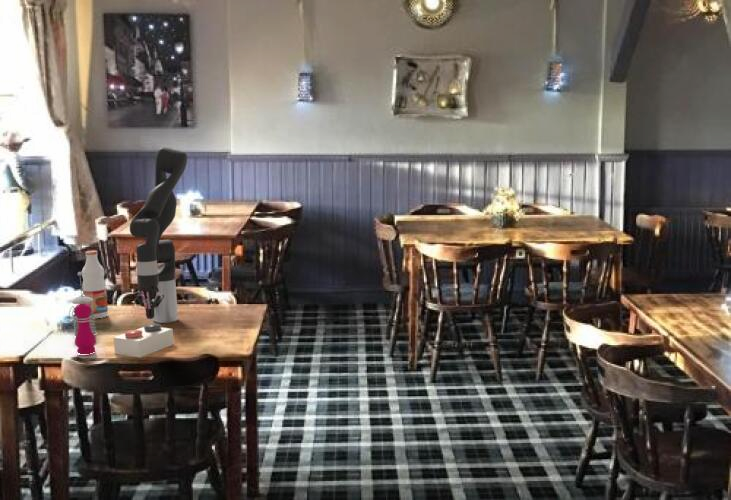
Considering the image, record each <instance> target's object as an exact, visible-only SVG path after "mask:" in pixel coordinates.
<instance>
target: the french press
mask: <svg viewBox="0 0 731 500" xmlns="http://www.w3.org/2000/svg"><path fill="white" fill-rule="evenodd" d="M82 275H83V274H82V271H78V272H77V276H79V281H80V283H79V285H82V280H81V276H82ZM80 293H81V295H80V296H77V297H75V298H73V299H72V300H71V303H72V304H75V305H78V304H80V300H84V301H85V303H89V302H92V301H93V299H92V298H90V297H86V296H83V288H80ZM75 305H72V306H71V307H70V309H69V312H68V319H69V322H70V323H71V325H73V331H74V333H73V334H74V335H75V336H76V335H77V333H78V322H77V321H76V320H77V319H76V318H77V316H76V315H75V314H74V309H75ZM72 308H73V309H72ZM71 310H72V312H71ZM91 310H92V309H91ZM70 314H71V316H70ZM70 317H71V318H70ZM90 317H91V318H90V319H91V320H90V328H91V331H92V332H93V334H96V333H98V331H96V324H95V321H96V320H95V319H94V313H92V311H91V314H90ZM71 319H72V321H71Z"/></svg>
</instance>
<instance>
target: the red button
mask: <svg viewBox="0 0 731 500" xmlns="http://www.w3.org/2000/svg"><path fill="white" fill-rule="evenodd" d="M124 334H125V337H126V338H137V337H141V336H142V331H141V330H137V329H131V330H130V329H129V330H127V331H125V332H124Z"/></svg>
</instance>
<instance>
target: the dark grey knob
mask: <svg viewBox="0 0 731 500" xmlns="http://www.w3.org/2000/svg"><path fill="white" fill-rule="evenodd" d="M143 327H144V330H145V331H152V332H154V331H157V330H160V329H161V327H162V323H157V322H155V323H154V322H153V323H148V324H145V325H144V326H143Z"/></svg>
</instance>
